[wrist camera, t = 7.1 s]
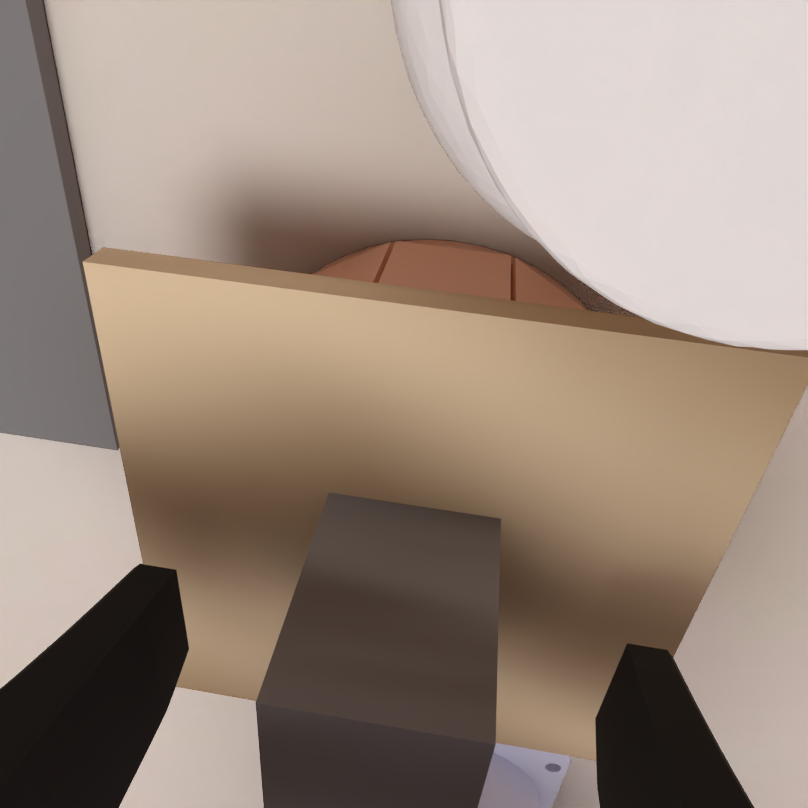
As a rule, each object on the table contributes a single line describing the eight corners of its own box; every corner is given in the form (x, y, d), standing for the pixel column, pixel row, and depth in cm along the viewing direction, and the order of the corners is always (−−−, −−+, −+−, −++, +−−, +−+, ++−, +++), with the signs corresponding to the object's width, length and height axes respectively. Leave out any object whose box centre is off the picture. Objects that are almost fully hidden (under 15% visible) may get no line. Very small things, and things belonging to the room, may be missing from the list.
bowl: (577, 577, 18) (592, 712, 15) (258, 526, 19) (204, 646, 16) (678, 269, 13) (733, 370, 10) (240, 214, 14) (154, 292, 11)
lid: (616, 739, 15) (649, 992, 12) (178, 663, 16) (74, 878, 12) (803, 338, 10) (994, 585, 6) (103, 247, 10) (-137, 414, 7)
